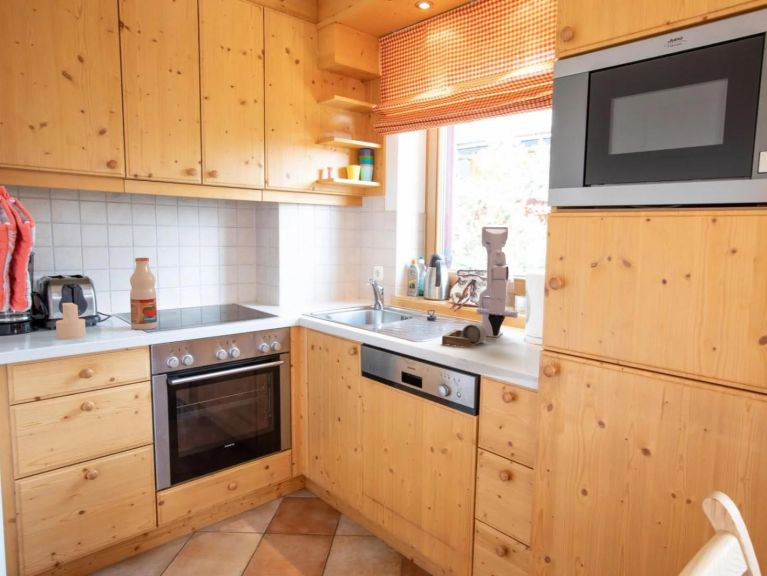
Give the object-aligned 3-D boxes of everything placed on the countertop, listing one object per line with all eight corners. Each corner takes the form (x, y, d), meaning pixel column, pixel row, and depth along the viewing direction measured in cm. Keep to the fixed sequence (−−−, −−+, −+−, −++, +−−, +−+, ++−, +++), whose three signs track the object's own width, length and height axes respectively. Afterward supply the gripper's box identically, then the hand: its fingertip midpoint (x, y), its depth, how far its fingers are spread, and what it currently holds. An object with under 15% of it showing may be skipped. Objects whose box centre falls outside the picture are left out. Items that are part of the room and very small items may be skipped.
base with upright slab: (88, 337, 183) (87, 304, 182) (59, 340, 177) (58, 306, 175) (82, 333, 189) (80, 301, 188) (54, 336, 183) (52, 303, 182)
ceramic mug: (487, 342, 190) (488, 322, 190) (480, 346, 183) (481, 325, 182) (460, 339, 195) (461, 319, 194) (453, 343, 188) (453, 323, 187)
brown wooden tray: (454, 336, 199) (455, 329, 199) (480, 339, 194) (481, 332, 194) (442, 344, 186) (442, 336, 185) (469, 347, 181) (470, 339, 181)
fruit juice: (139, 325, 207) (137, 257, 204) (161, 326, 207) (159, 257, 204) (126, 329, 198) (123, 258, 195) (149, 330, 197) (147, 259, 194)
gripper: (474, 298, 182) (473, 335, 184) (515, 301, 176) (513, 339, 177) (480, 296, 188) (478, 331, 190) (519, 299, 182) (517, 336, 183)
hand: (495, 335), depth 184 cm, fingers closed
